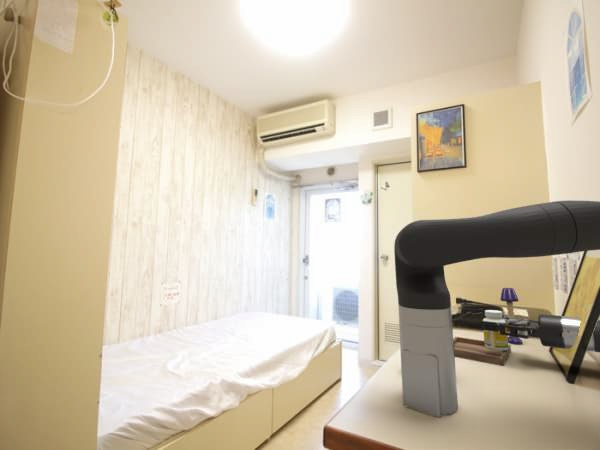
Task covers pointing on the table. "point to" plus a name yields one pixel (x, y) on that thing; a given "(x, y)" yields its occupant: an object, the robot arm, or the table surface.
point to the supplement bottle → (495, 332)
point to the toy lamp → (510, 309)
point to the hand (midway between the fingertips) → (483, 323)
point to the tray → (479, 351)
